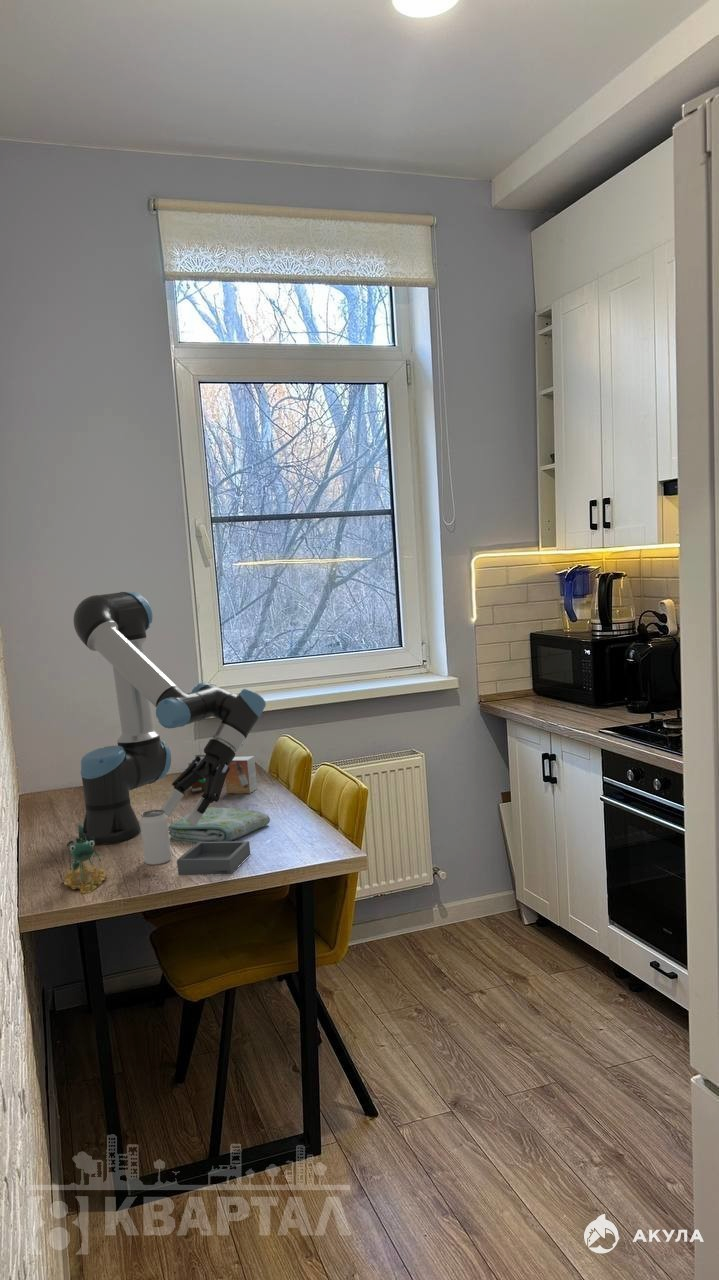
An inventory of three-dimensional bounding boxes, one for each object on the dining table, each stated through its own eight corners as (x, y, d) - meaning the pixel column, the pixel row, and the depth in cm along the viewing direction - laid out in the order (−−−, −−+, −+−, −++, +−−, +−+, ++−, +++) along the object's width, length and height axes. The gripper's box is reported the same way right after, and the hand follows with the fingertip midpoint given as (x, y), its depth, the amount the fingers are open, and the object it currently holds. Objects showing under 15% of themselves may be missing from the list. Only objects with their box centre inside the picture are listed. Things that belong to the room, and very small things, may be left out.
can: (176, 856, 228) (170, 808, 226) (164, 865, 221) (159, 816, 220) (151, 856, 229) (146, 809, 228) (139, 865, 223) (134, 817, 222)
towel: (210, 820, 258) (208, 802, 258) (271, 826, 247) (269, 807, 247) (165, 840, 243) (163, 821, 242) (228, 848, 232) (226, 828, 231)
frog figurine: (105, 866, 225) (99, 808, 222) (110, 898, 208) (104, 837, 206) (64, 873, 222) (58, 815, 219) (65, 906, 206) (59, 844, 203)
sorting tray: (178, 874, 214) (176, 860, 213) (200, 855, 226) (198, 841, 226) (231, 874, 211) (229, 859, 210) (250, 855, 223) (249, 841, 223)
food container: (211, 793, 286) (207, 761, 285) (191, 795, 286) (188, 763, 285) (217, 783, 299) (214, 752, 298) (198, 784, 299) (195, 754, 298)
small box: (226, 794, 284) (223, 760, 283) (234, 789, 289) (230, 756, 288) (250, 793, 282) (247, 760, 281) (257, 788, 287) (254, 755, 286)
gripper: (260, 759, 226) (213, 835, 218) (210, 748, 245) (165, 817, 238) (238, 742, 222) (190, 820, 214) (190, 732, 242) (144, 802, 234)
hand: (177, 818), depth 226 cm, fingers open, 13 cm apart
